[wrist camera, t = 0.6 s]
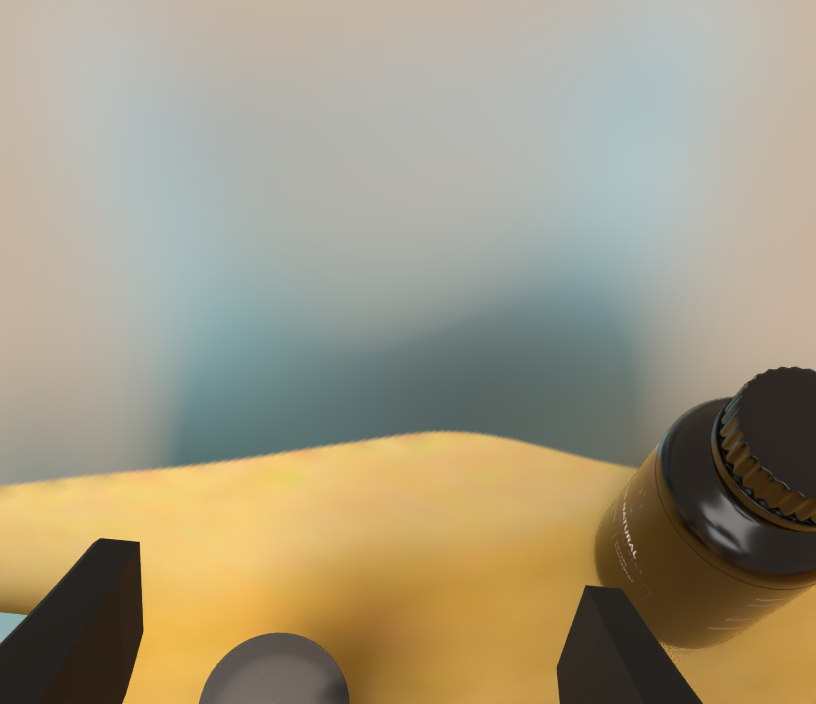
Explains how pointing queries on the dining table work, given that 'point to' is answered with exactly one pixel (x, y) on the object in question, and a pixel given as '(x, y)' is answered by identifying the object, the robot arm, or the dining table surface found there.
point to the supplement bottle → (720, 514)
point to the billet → (276, 674)
